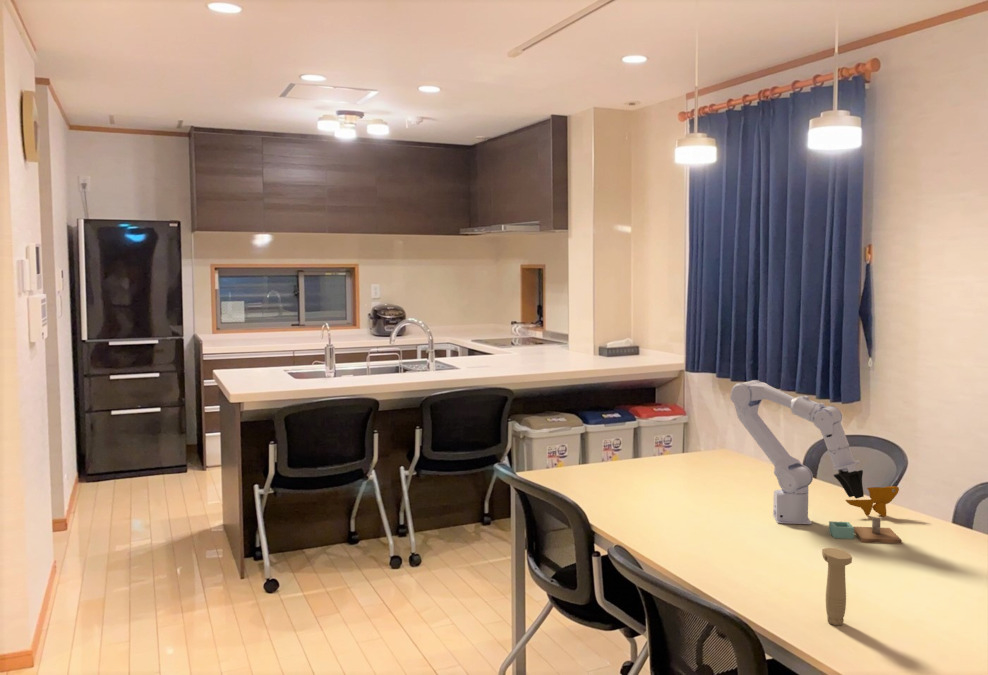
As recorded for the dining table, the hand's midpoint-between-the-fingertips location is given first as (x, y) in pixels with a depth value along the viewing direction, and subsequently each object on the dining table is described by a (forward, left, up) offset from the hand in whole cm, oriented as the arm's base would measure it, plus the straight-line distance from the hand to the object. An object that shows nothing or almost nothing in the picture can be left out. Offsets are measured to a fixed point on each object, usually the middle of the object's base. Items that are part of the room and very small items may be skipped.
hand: (856, 496), depth 221 cm
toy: (+9, +18, -11) cm, 23 cm away
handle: (-19, -58, -11) cm, 62 cm away
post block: (+5, -1, -11) cm, 12 cm away
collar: (-4, -1, -11) cm, 11 cm away
